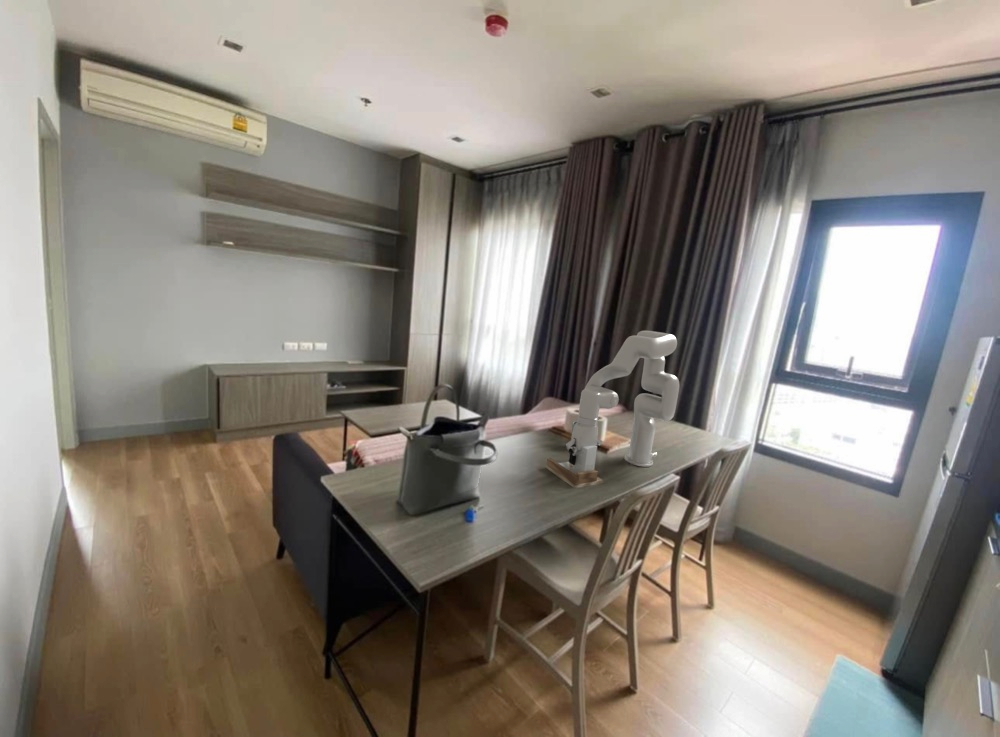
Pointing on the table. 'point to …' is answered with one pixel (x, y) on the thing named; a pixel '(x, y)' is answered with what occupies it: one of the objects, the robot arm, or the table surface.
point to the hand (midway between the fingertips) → (581, 462)
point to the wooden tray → (569, 477)
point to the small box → (584, 460)
